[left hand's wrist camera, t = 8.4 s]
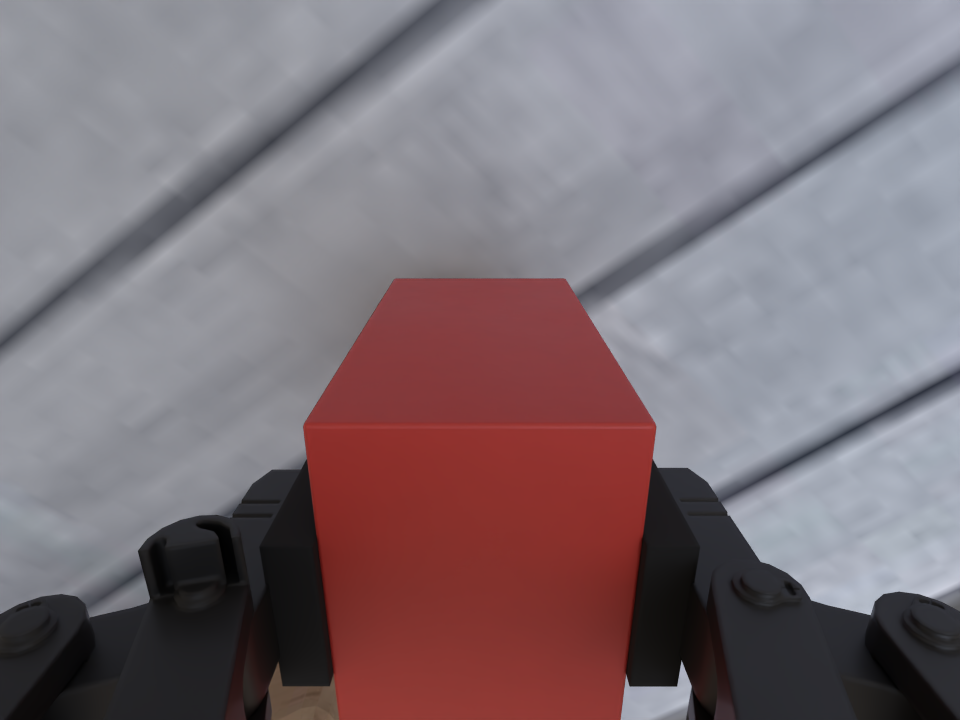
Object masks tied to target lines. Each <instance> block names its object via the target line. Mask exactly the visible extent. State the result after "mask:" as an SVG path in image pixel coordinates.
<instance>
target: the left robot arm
mask: <svg viewBox="0 0 960 720" xmlns="http://www.w3.org/2000/svg"><path fill="white" fill-rule="evenodd" d="M138 553H139V557H140V561H141V565H142V569H143V572H144V576H145V580H146V584H147V588H148V592H149V595H150V601H149V603H147V604H144V605H140V606H137V607H134V608H129V609H125V610H121V611H116V612H112V613H108V614H103V615H99V616H95V617H90V618H89V615H88V611H87V608H86V605H85V604H84V603H83V602H82V601H81V600H80V599H79V598H78V597H75V596H69V595H63V594H59V595H52V596H44V597H39V598H36V599H33V600H31V601H27V602H25V603H22V604H19V605H17V606H15V607H13V608H11V609H9V610H7V611H6V612H4V613H2V614H0V720H271V716H272V707H271V700H270V694H269V689H268V687H269V685H270V682H271V679H272V677H273V674H274V672H275V669H276V667H277V664H278V662H279V668H280V674H281V680H282V686H330V684H331V681H332V677H333V673H334V672H333V664H332V656H331V648H330V640H329V632H328V624H327V615H326V607H325V599H324V591H323V583H322V575H321V567H320V558H319V550H318V542H317V535H316V528H315V519H314V511H313V503H312V495H311V487H310V479H309V471H308V462H307V460H306V462H305V464H304V465H303V467H302V469H301V470H271V471H270V472H269V473H267V474H266V475H264V476H263V477H262V478H260V479H259V480H257V481H256V482H255V483H253V484H252V486H251V487H250V489H249V490H248V492H247V493H246V495H245V496H244V498H243V499H242V504H239V505H238V507H237V508H236V510H235V511H234V513H233V517H232V518H227V517H223V516H219V515H203V516H196V517H192V518H187V519H183V520H180V521H178V522H175V523H173V524H171V525H168V526H166V527H164V528H162V529H161V530H159V531H158V532H156V533H155V534H154V535H152V536H151V537H149V538H148V539H147V540H146V541H145V543H144V544H143V545H142V547H141V548H140V549H139V550H138ZM681 660H682V662H683V665H684V667H685V670H686V672H687V675H688V678H689V680H690V683H691V685H692V689H691V694H690V700H689V705H688V711H687V716H686V720H960V611H958V610H956V609H954V608H952V607H950V606H948V605H946V604H945V603H943V602H940V601H937V600H935V599H931V598H929V597H925V596H922V595H919V594H912V593H905V592H894V593H888V594H883V595H882V596H881V597H880V598H879V599H878V600H876V601H875V603H874V607H873V610H872V613H871V615H867V614H863V613H858V612H854V611H850V610H845V609H841V608H836V607H832V606H828V605H824V604H821V603H818V602H814V601H811V600H810V597H809V596H808V594H807V593H806V591H805V590H804V588H803V587H802V585H801V584H800V583H798V582H797V581H796V580H795V579H793V578H792V577H791V576H790V575H789V574H787V573H786V572H784V571H782V570H780V569H778V568H776V567H774V566H772V565H770V564H766V563H762V562H760V561H759V559H758V558H757V556H756V555H755V553H754V552H753V550H752V549H751V547H750V546H749V544H748V543H747V541H746V540H745V538H744V537H743V535H742V534H741V532H740V531H739V529H738V528H737V526H736V525H735V523H734V522H733V520H732V519H731V517H730V516H728V515H727V511H726V510H725V508H724V507H723V505H722V504H721V502H718V498H717V496H716V495H715V493H714V492H713V490H712V489H711V487H710V486H709V484H708V483H707V482H706V481H705V480H704V479H702V478H701V477H699V476H698V475H697V474H695V473H694V472H692V471H691V470H690V469H688V468H657V466H656V464H655V462H654V461H653V459H652V467H651V475H650V483H649V491H648V499H647V507H646V515H645V524H644V532H643V538H642V547H641V555H640V563H639V571H638V579H637V587H636V596H635V604H634V612H633V620H632V628H631V636H630V645H629V653H628V661H627V669H626V675H627V678H628V682H629V686H677V684H678V678H679V672H680V666H681Z"/></svg>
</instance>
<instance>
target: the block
mask: <svg viewBox="0 0 960 720" xmlns="http://www.w3.org/2000/svg"><path fill="white" fill-rule="evenodd" d="M303 430H304V438H305V446H306V454H307V462H308V471H309V479H310V487H311V495H312V503H313V511H314V519H315V528H316V535H317V542H318V550H319V558H320V567H321V575H322V583H323V591H324V599H325V607H326V615H327V624H328V632H329V640H330V648H331V656H332V664H333V672H334V673H333V674H334V682H335V690H336V698H337V706H338V715H339V720H620V719H621V711H622V703H623V695H624V687H625V679H626V669H627V661H628V653H629V645H630V636H631V628H632V620H633V612H634V604H635V596H636V587H637V579H638V571H639V563H640V555H641V547H642V538H643V532H644V524H645V515H646V507H647V499H648V491H649V483H650V475H651V467H652V458H653V450H654V442H655V434H656V424H655V422H654V421H653V419H652V417H651V416H650V414H649V413H648V411H647V409H646V408H645V406H644V405H643V403H642V401H641V400H640V398H639V396H638V395H637V393H636V392H635V390H634V388H633V387H632V385H631V384H630V382H629V380H628V379H627V377H626V376H625V374H624V372H623V371H622V369H621V368H620V366H619V364H618V363H617V361H616V360H615V358H614V356H613V355H612V353H611V351H610V350H609V348H608V347H607V345H606V343H605V342H604V340H603V339H602V337H601V335H600V334H599V332H598V331H597V329H596V327H595V326H594V324H593V323H592V321H591V319H590V318H589V316H588V314H587V313H586V311H585V310H584V308H583V306H582V305H581V303H580V302H579V300H578V298H577V297H576V295H575V294H574V292H573V290H572V289H571V287H570V286H569V284H568V282H567V281H566V279H394V280H393V282H392V284H391V285H390V287H389V288H388V290H387V292H386V293H385V295H384V296H383V298H382V300H381V301H380V303H379V304H378V306H377V308H376V309H375V311H374V312H373V314H372V316H371V317H370V319H369V320H368V322H367V324H366V325H365V327H364V328H363V330H362V332H361V333H360V335H359V336H358V338H357V340H356V341H355V343H354V344H353V346H352V348H351V349H350V351H349V352H348V354H347V356H346V357H345V359H344V360H343V362H342V364H341V365H340V367H339V368H338V370H337V372H336V373H335V375H334V377H333V378H332V380H331V381H330V383H329V385H328V386H327V388H326V389H325V391H324V393H323V394H322V396H321V397H320V399H319V401H318V402H317V404H316V405H315V407H314V409H313V410H312V412H311V413H310V415H309V417H308V418H307V420H306V421H305V423H304V426H303Z"/></svg>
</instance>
